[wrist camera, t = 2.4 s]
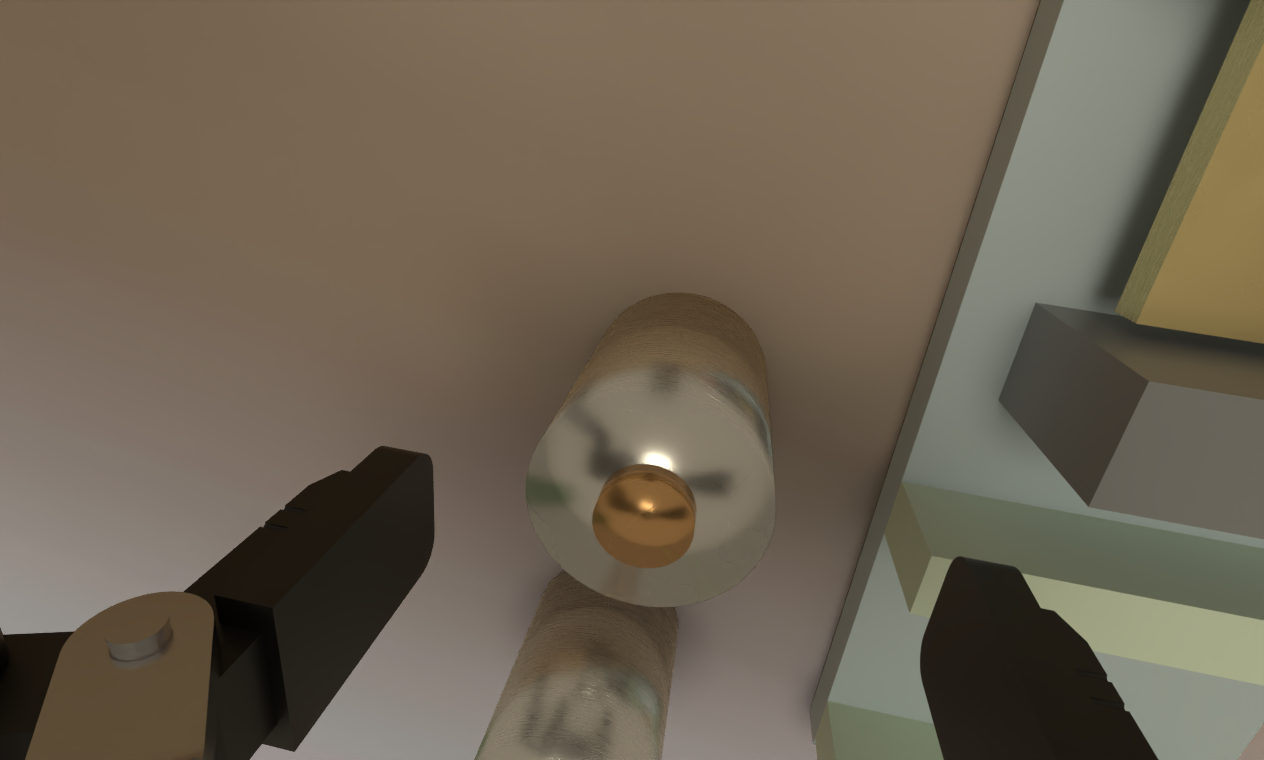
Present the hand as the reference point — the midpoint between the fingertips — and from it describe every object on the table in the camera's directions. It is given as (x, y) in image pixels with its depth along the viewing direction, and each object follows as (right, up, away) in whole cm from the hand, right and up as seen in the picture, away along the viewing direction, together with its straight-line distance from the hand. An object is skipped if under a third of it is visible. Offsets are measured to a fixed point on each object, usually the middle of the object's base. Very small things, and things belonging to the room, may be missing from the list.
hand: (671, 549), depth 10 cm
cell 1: (+1, +3, +8) cm, 8 cm away
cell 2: (-1, -5, +11) cm, 13 cm away
